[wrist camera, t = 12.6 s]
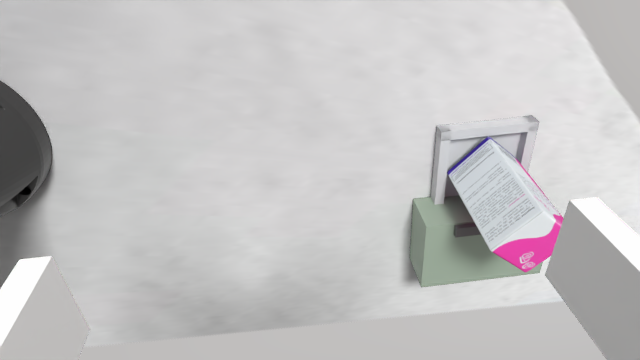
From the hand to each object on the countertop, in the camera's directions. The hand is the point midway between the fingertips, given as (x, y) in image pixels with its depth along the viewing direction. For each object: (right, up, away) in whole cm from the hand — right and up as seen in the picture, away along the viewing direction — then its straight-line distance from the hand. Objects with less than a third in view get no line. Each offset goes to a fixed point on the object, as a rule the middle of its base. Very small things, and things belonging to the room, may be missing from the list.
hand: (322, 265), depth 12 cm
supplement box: (+17, +4, +36) cm, 40 cm away
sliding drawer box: (+17, +1, +39) cm, 43 cm away
